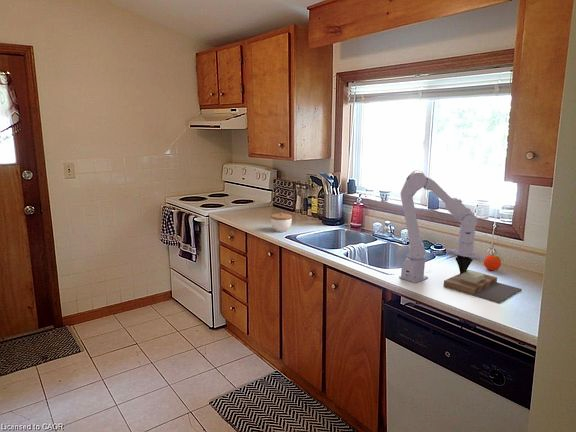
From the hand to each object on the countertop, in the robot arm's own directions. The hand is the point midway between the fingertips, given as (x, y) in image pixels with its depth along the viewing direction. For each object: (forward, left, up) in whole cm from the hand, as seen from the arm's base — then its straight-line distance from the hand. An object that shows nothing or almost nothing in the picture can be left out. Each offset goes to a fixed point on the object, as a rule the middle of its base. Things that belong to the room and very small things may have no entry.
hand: (462, 274), depth 172 cm
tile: (0, -4, -1) cm, 4 cm away
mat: (-1, -14, -3) cm, 15 cm away
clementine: (+24, -2, -3) cm, 25 cm away
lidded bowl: (-1, +112, -3) cm, 112 cm away
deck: (-1, -4, -3) cm, 5 cm away
